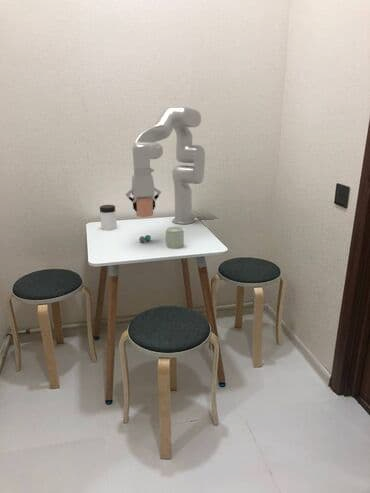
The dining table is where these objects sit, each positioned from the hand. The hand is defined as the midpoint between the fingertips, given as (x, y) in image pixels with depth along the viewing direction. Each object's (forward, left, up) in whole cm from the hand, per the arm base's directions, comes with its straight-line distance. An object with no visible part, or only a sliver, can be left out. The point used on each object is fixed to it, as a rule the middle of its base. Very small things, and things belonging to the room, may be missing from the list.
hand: (144, 209), depth 184 cm
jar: (+14, -31, -16) cm, 38 cm away
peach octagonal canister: (0, 0, -2) cm, 2 cm away
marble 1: (+2, +1, -16) cm, 16 cm away
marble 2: (-1, 0, -16) cm, 16 cm away
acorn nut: (-12, +10, -16) cm, 22 cm away
